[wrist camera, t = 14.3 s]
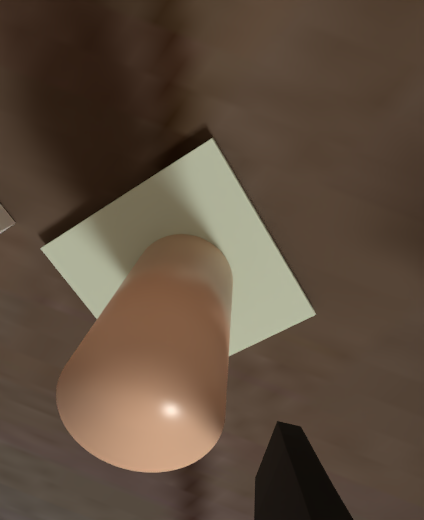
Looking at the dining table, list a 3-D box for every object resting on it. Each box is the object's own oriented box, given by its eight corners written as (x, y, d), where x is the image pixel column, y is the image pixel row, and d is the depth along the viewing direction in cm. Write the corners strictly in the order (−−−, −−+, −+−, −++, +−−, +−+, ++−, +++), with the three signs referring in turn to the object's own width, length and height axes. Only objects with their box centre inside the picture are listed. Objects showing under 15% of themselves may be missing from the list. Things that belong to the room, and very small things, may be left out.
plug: (171, 338, 19) (123, 492, 11) (116, 264, 17) (21, 382, 10) (251, 296, 17) (257, 436, 10) (198, 215, 16) (160, 305, 9)
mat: (156, 384, 20) (154, 391, 20) (45, 244, 18) (40, 248, 17) (313, 309, 18) (316, 314, 18) (212, 137, 16) (212, 138, 15)
